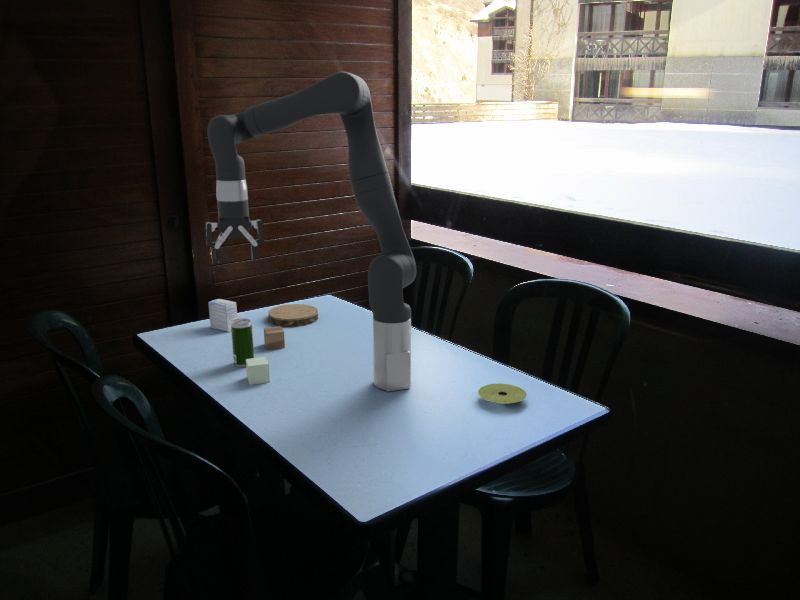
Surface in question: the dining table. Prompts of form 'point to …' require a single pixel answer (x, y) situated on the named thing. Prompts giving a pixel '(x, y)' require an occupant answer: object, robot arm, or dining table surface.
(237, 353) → the beer can
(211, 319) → the medicine box
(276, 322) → the round wood slice
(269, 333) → the walnut block
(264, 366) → the sage block
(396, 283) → the robot arm
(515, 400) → the olive yellow disc
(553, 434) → the dining table surface
